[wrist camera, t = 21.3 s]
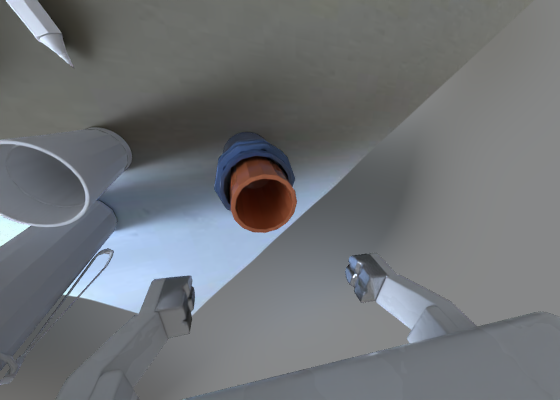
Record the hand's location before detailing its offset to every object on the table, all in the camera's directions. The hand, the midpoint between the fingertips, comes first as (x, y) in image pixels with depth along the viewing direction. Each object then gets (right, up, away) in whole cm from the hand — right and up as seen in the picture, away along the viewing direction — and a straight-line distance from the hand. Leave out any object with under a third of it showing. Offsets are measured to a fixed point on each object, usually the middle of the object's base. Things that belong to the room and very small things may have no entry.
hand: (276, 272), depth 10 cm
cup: (-24, +10, +17) cm, 31 cm away
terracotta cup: (-4, +8, +17) cm, 19 cm away
